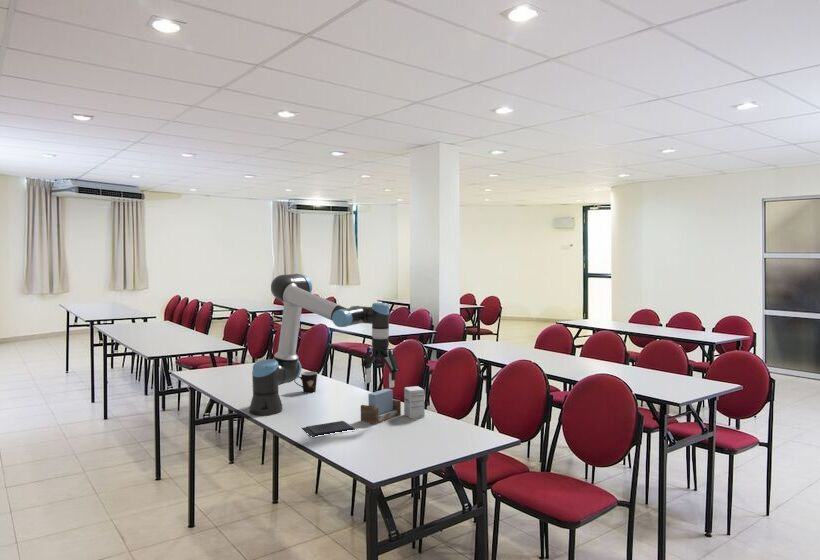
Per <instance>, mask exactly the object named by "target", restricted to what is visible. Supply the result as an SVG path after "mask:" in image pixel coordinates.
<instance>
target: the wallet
mask: <svg viewBox="0 0 820 560" xmlns="http://www.w3.org/2000/svg"><path fill="white" fill-rule="evenodd" d="M301 428H302V429H303V430H304V431H305V432H306V433H308V434H309V435H310V436H312V437H315V436H318V435H324V434H330V433H335V432H342V431H347V430H355V429H356V428H355V427H353V426H351V424H349V423H348V422H346V421H345V420H339V421H332V422H328V423H327V422H326V423H321V424H314V425H308V426H307V425H306V426H305V427H301ZM302 429H301V430H302ZM303 430H302V431H303ZM304 431H303V432H304ZM305 432H304V433H305ZM306 433H305V434H306ZM309 435H308V436H309ZM310 436H309V437H310Z"/></svg>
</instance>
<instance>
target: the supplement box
mask: <svg viewBox="0 0 820 560" xmlns="http://www.w3.org/2000/svg"><path fill="white" fill-rule="evenodd" d="M403 392H404V393H403V397H404V398H403V399H404V400H403V401H404V402H403V404H404V405H403V406H404V407H403V408H404V409H403V410H404V411H403V412H404V414H403V415H404V416H406V417H408V419H409V420H410V419H420V418H424V417H425V389H423V388H422V387H420V386H419V385H418V386H417V385H414V386H406V387H404V388H403Z"/></svg>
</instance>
